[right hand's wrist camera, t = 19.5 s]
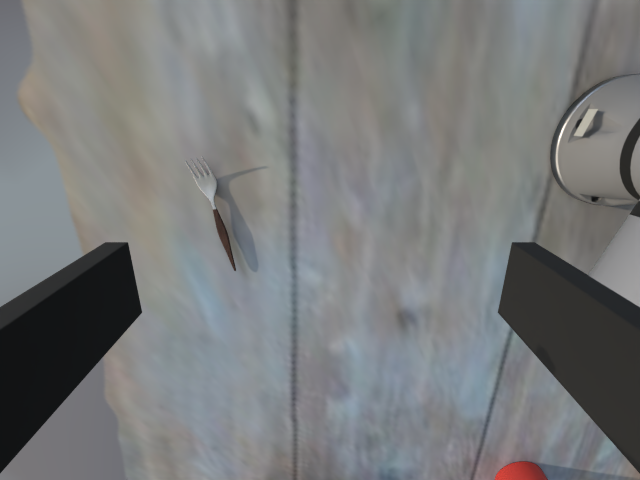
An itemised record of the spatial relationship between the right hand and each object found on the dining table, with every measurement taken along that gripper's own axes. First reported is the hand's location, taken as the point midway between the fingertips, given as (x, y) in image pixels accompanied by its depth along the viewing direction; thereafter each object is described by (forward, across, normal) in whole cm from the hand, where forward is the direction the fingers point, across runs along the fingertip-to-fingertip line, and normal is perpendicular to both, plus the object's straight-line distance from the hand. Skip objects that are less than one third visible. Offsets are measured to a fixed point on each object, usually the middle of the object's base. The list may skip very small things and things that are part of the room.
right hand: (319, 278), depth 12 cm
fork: (+34, -14, -8) cm, 37 cm away
